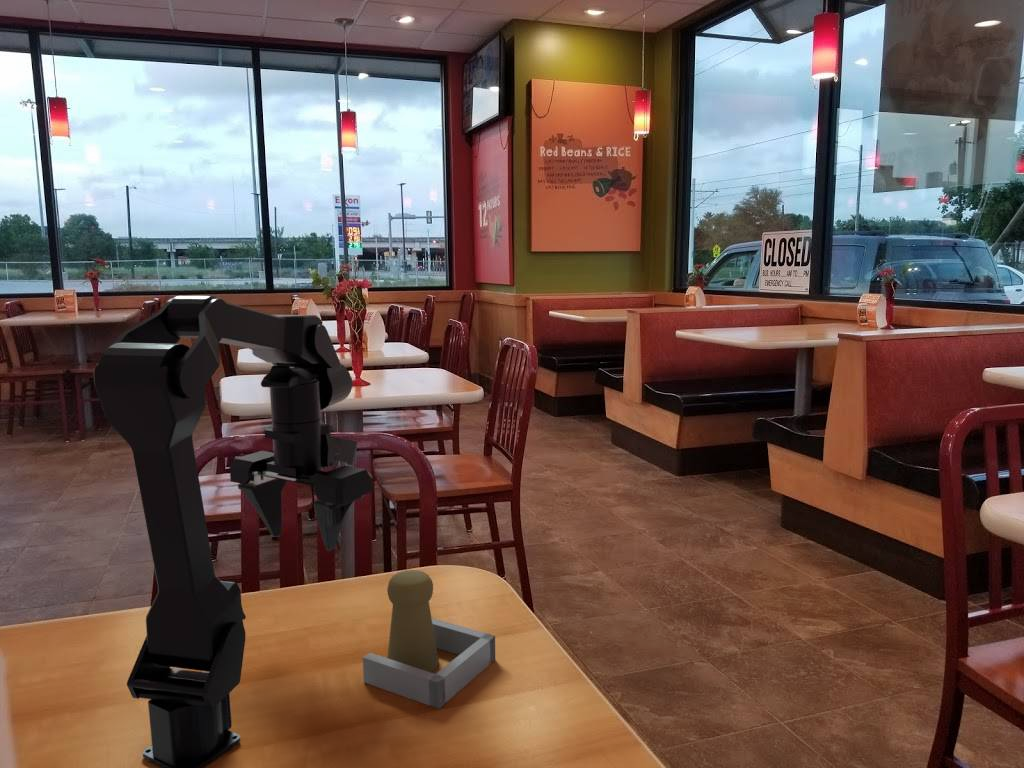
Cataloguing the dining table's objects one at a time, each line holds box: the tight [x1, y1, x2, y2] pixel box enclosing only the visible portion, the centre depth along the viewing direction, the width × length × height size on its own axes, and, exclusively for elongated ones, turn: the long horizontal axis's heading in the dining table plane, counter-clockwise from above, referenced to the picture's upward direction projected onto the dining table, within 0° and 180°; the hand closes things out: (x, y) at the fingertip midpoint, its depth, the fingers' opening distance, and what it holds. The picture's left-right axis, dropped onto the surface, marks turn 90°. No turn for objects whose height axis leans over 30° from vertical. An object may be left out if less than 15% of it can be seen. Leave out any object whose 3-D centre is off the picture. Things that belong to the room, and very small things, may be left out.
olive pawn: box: [386, 569, 439, 673], centre depth 89 cm, size 6×6×11 cm
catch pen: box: [362, 617, 496, 710], centre depth 88 cm, size 11×10×3 cm
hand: (303, 542), depth 95 cm, fingers open, 9 cm apart
